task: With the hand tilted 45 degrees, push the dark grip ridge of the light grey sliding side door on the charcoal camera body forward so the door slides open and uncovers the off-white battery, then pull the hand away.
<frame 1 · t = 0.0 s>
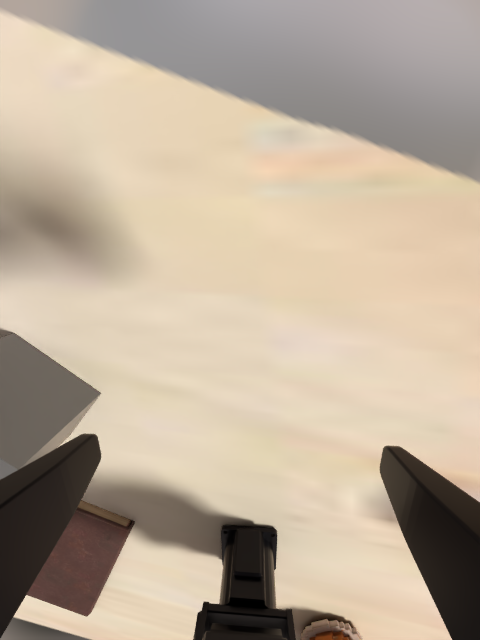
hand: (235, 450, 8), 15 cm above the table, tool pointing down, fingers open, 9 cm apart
camera body: (43, 387, 25), on the table
notebook: (63, 540, 33), on the table
decorative ornament: (329, 629, 33), on the table
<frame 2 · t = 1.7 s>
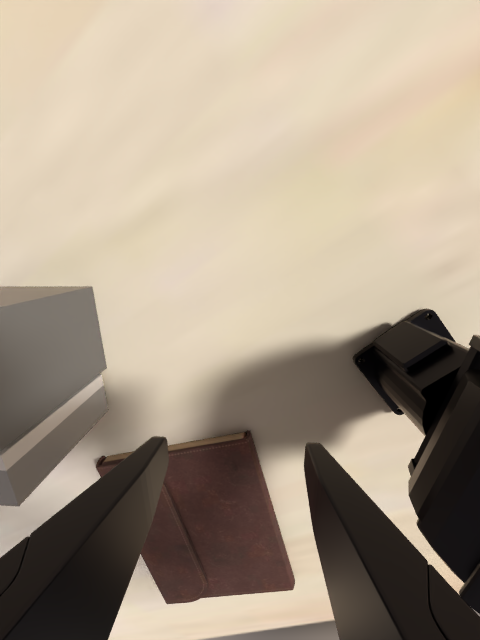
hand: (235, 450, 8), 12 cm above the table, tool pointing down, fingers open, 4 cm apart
camera body: (42, 328, 20), on the table
notebook: (205, 512, 26), on the table
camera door: (5, 424, 17), point 5 cm above the table, slide at 0.0 cm
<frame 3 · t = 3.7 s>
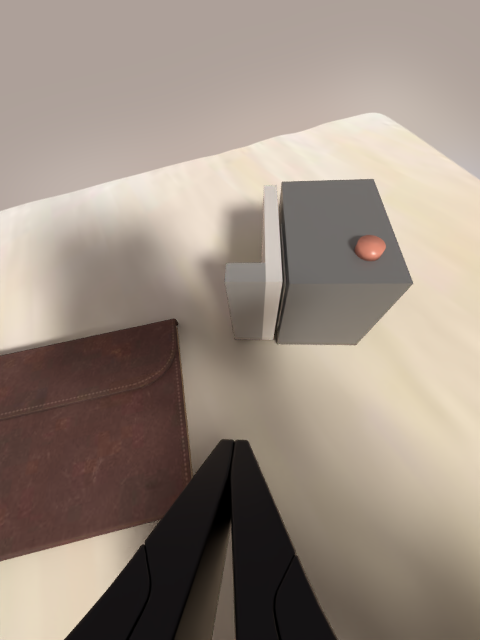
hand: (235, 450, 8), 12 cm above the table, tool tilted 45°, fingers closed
camera body: (310, 298, 24), on the table
notebook: (72, 427, 20), on the table
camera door: (254, 267, 21), point 5 cm above the table, slide at 0.0 cm
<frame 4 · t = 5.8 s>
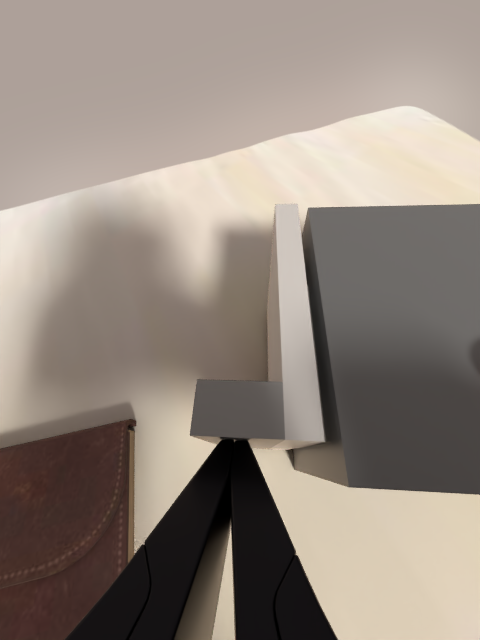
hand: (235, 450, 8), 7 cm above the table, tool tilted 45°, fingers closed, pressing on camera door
camera body: (344, 381, 16), on the table
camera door: (256, 340, 12), point 5 cm above the table, slide at 0.7 cm, touching gripper
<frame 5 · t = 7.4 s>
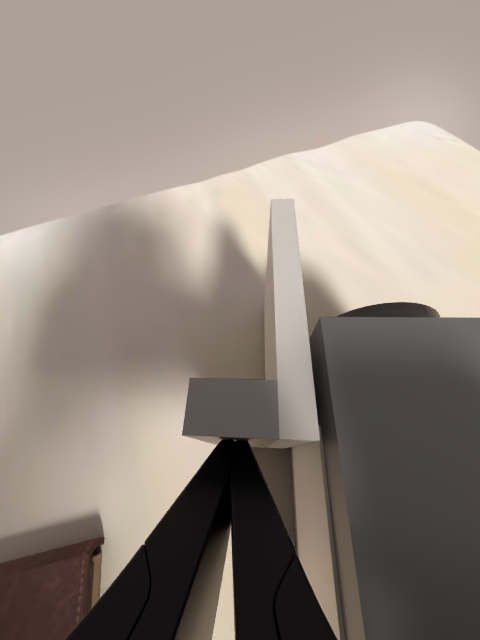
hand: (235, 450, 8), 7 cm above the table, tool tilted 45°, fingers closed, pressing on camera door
camera body: (359, 483, 13), on the table
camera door: (253, 337, 12), point 5 cm above the table, slide at 6.3 cm, touching gripper
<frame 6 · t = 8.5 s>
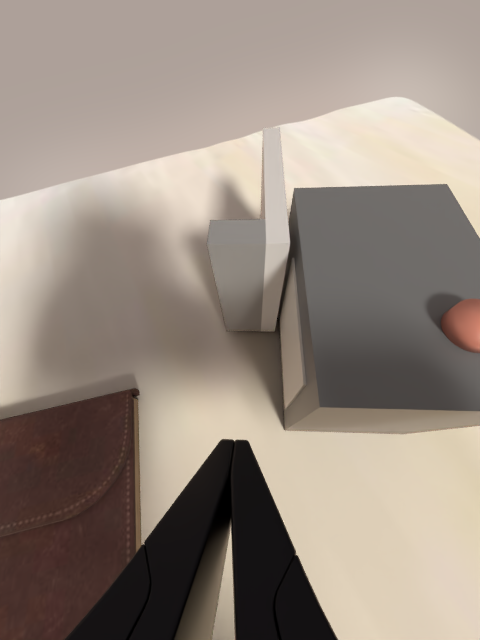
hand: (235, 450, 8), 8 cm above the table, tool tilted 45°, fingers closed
camera body: (331, 353, 17), on the table
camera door: (250, 239, 16), point 5 cm above the table, slide at 6.3 cm
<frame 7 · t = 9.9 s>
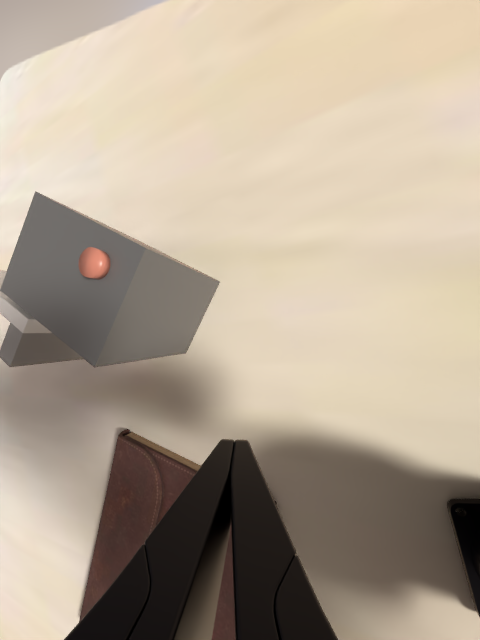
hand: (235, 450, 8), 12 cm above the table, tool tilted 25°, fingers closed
camera body: (160, 293, 23), on the table
notebook: (174, 560, 22), on the table
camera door: (47, 314, 21), point 5 cm above the table, slide at 6.3 cm
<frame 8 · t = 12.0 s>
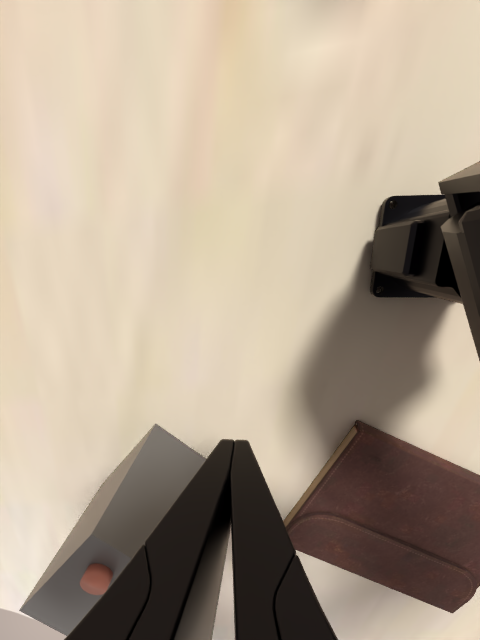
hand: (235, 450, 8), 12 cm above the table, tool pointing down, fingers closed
camera body: (156, 475, 24), on the table
notebook: (399, 510, 24), on the table
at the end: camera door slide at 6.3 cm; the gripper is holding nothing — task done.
